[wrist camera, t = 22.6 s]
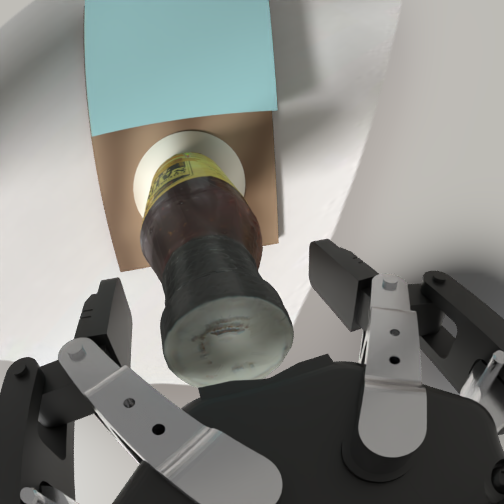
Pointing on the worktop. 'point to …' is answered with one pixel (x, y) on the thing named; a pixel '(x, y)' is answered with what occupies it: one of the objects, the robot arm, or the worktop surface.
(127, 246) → the walnut board
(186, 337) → the sauce bottle
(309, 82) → the worktop surface
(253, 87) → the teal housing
